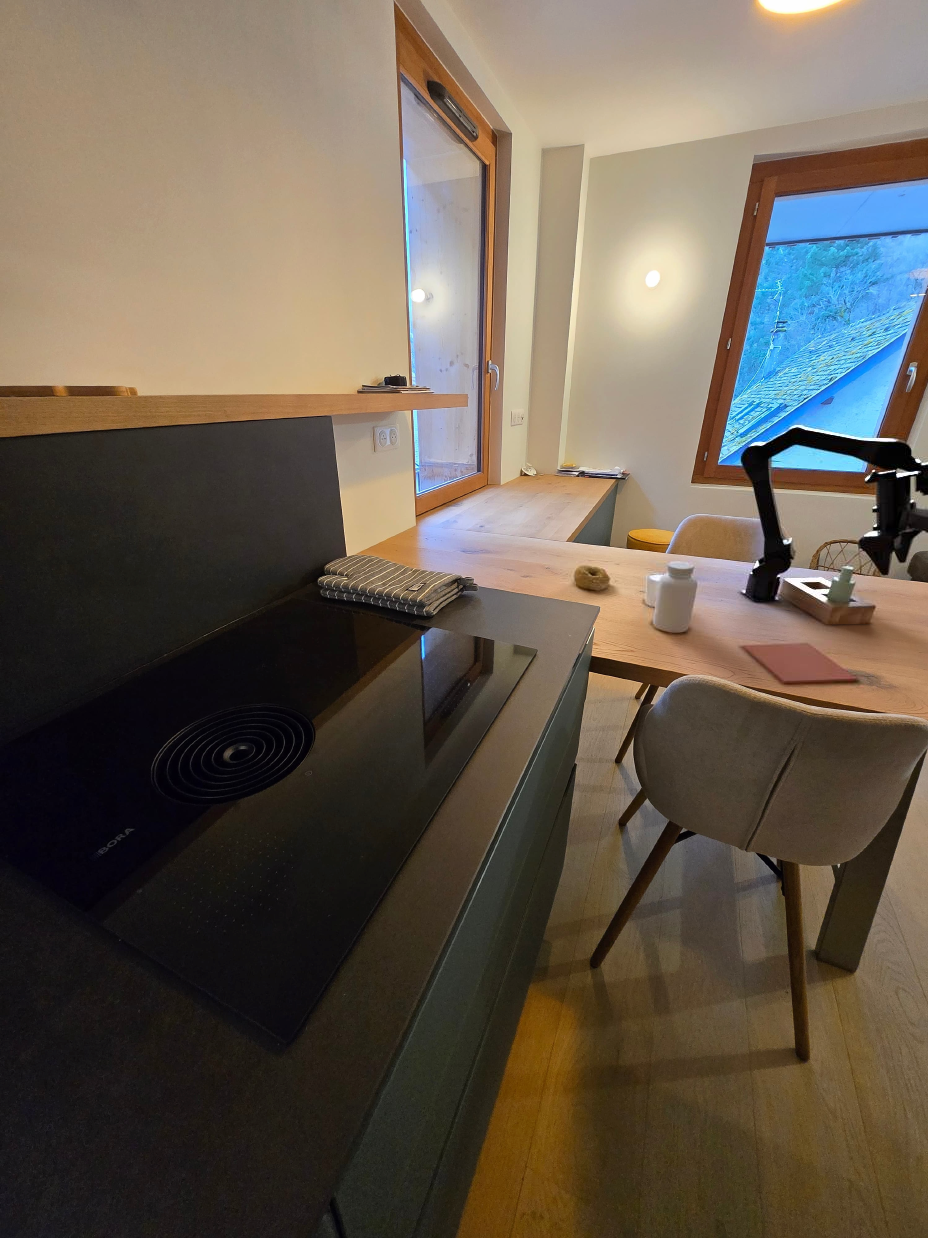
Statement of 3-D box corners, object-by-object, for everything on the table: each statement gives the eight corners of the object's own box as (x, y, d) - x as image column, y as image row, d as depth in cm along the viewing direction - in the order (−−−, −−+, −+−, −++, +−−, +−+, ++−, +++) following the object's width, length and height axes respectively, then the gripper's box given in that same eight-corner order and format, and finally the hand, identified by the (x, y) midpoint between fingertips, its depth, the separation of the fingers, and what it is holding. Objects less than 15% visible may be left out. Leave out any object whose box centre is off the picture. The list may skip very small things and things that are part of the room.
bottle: (830, 618, 116) (846, 571, 111) (817, 611, 120) (832, 564, 115) (848, 618, 116) (865, 570, 111) (834, 610, 120) (850, 564, 115)
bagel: (583, 593, 133) (584, 576, 130) (567, 579, 142) (568, 563, 140) (617, 590, 134) (619, 573, 132) (599, 576, 144) (600, 560, 142)
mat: (783, 683, 92) (784, 681, 92) (742, 647, 105) (743, 645, 104) (856, 680, 93) (857, 678, 92) (806, 645, 105) (807, 643, 105)
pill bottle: (646, 619, 118) (655, 559, 111) (678, 617, 118) (690, 558, 112) (661, 634, 110) (672, 571, 104) (695, 632, 111) (708, 570, 104)
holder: (826, 624, 114) (832, 607, 112) (778, 594, 130) (783, 578, 128) (869, 623, 114) (876, 605, 112) (816, 593, 130) (821, 577, 128)
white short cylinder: (670, 599, 128) (675, 574, 125) (671, 610, 122) (676, 583, 119) (642, 596, 130) (646, 571, 127) (642, 606, 124) (646, 580, 121)
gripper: (924, 507, 95) (924, 583, 100) (959, 485, 104) (957, 556, 108) (856, 511, 105) (858, 581, 109) (893, 491, 113) (894, 556, 118)
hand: (893, 568), depth 111 cm, fingers open, 9 cm apart
